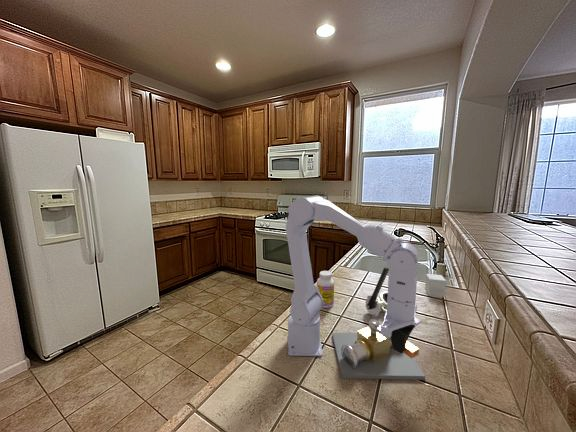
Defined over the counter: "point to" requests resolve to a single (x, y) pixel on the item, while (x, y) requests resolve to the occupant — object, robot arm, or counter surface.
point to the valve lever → (375, 326)
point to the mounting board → (376, 363)
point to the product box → (435, 285)
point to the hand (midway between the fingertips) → (398, 350)
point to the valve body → (366, 347)
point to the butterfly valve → (378, 304)
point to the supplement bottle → (326, 288)
